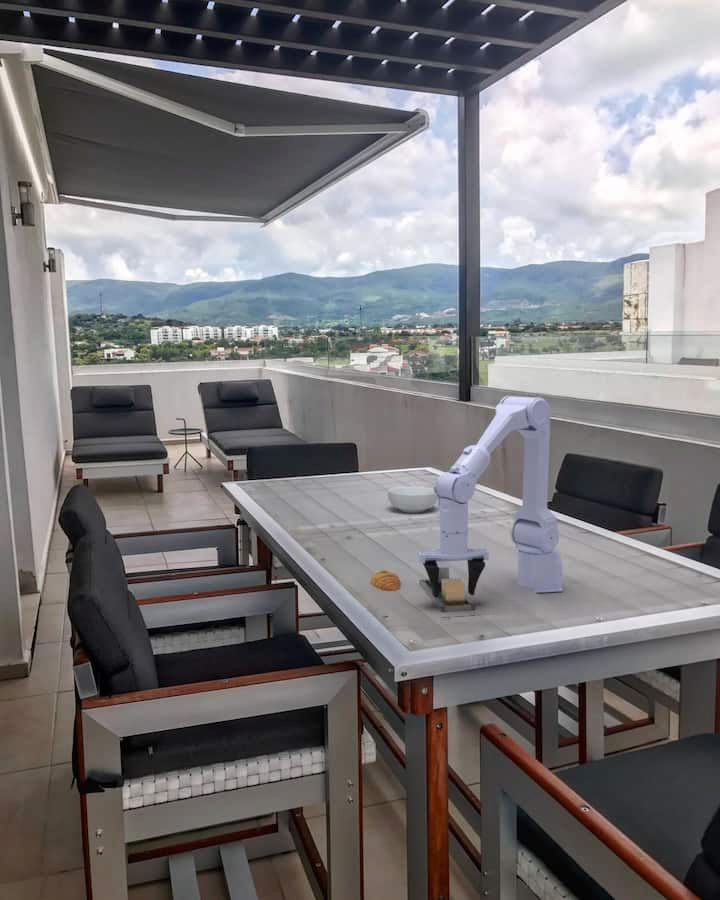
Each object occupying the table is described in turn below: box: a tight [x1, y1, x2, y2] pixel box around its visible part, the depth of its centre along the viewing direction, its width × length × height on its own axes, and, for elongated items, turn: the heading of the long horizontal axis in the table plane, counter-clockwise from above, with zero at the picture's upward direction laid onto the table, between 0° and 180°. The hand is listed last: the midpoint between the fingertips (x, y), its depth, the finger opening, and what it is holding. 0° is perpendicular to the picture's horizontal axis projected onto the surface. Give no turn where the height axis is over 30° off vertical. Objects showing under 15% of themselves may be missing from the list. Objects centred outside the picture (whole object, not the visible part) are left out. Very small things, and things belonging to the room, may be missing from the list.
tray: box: [419, 577, 476, 619], centre depth 176 cm, size 7×20×2 cm, turn 9°
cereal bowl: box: [387, 485, 438, 514], centre depth 274 cm, size 17×17×7 cm
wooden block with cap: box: [442, 577, 466, 606], centre depth 171 cm, size 4×6×5 cm
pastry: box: [369, 569, 402, 592], centre depth 185 cm, size 9×7×4 cm
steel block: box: [426, 562, 450, 592], centre depth 182 cm, size 4×6×5 cm
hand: (453, 594), depth 170 cm, fingers open, 7 cm apart
